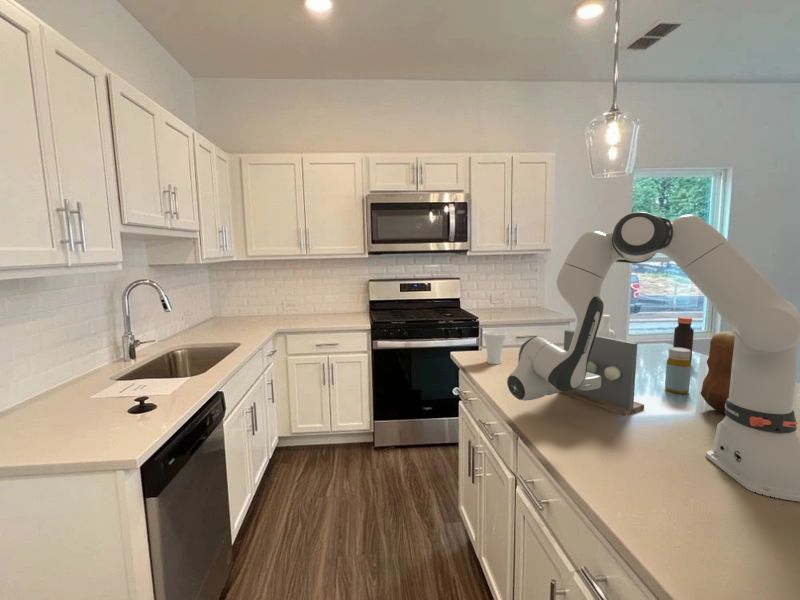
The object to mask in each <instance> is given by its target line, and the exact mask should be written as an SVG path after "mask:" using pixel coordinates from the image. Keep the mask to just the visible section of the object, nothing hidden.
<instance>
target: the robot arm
mask: <svg viewBox="0 0 800 600" xmlns="http://www.w3.org/2000/svg"><path fill="white" fill-rule="evenodd" d="M656 254H660V255H664V256H666V257H668V258H669V259H671V260H672V261H673V262H674V263H675V264H676V266H678V267H679V269H680V270H681V271H682V272H683V273H684V274H685V276H687V278H688V279H689V280H690V281H691V282H692V284H694V285H695V287H696V288H697V289H698V290H699V291H700V292H701V293H702V294H703V295H704V296H705V297H706V299H707V300H708V301H709V303H710V304H711V306H712V307H713V308H714V309H715V310H716V311H717V313H718V314H719V315H720V317H721V318H722V319H723V320H724V322H725V323H726V324H727V325H728V327H729V328H730V329H731V330H732V332H734V333H735V342H734V351H733V360H732V368H731V379H730V389H729V398H727V399H726V403H725V413H724V414H725V416H724V418H723V419H722V420H721V421H720V422H718V424H716V429H715V435H714V439H713V443H712V444H713V447H712V449H711V450H707V451H706V453H705V457H706V458H707V459H708V460H709V461H711V462H712V463H713V464H715V465H716V466H717V467H719V469H721V470H722V471H723V472H725V473H726V474H727V475H728V476H730V477H731V478H732V479H733V480H735V481H736V482H737V483H739V484H740V485H741V486H742V487H744V488H745V489H747V490H748V491H750V492H752V493H755V492H756V494H759V495H762V494H763V495H762V496H766V497H770V496H771V497H770V498H774V497H775V499H779V498H780V499H781V500H787V501H793V502H800V438H799V436H798V434H797V429H798V426H797V425H798V424H799V423H798V422H797V418H796V415H795V411H794V410H793V404H794V397H795V388H796V387H795V386H796V380H797V364H798V363H797V362H798V348H799V347H798V345H799V341H800V312H799V310H798V308H797V307H796V306H795V305H794V304H793V303H792V302H790V301H789V300H787V299H785V298H784V297H783V296H782V295H781V294H780V293H779V292H778V290H777V289H776V288H775V287H773V285H772V284H771V283H770V282H769V281H768V280H767V279H766V278H765V277H764V276H763V275H762V274H761V273H760V271H759V270H758V269H757V268H756V267H755V266H754V265H753V264H752V263H751V262H750V261H749V260H748V259H747V258H746V257H745V256H744V255H743V254H742V253H741V251H739V250H738V249H737V248H736V247H735V246H734V245H733V244H732V243H731V242H730V241H729V240H728V239H727V238H726V237H725V236H724V235H723V234H722V233H720V232H719V230H717V229H716V228H714V227H713V226H712V225H711V224H709V223H708V222H706V221H705V220H704V219H703V218H701V217H699V216H698V215H695V214H683V215H680V216H678V217H675V218H674V219H672V220H669V218H666V217H663V216H662V217H661V216H659V215H655V214H652V213H649V212H645V211H636V212H635V211H634V212H630V213H628V214H626V215H624V216H623V217H621V218H620V219H619V220H618V222H617V223H616V224H615V225H614V229H613V231H612V232H610V233H604V232H601V231H595V230H594V231H593V230H592V231H587V232H585V233H583V234H581V236H580V237H579V238H578V239H577V241H576V242H575V244H574V245H573V246H572V248H571V250H570V251H569V252H568V254H567V256H566V258H565V260H564V262H563V264H562V266H561V268H560V270H559V272H558V275H557V279H556V287H557V291H558V292H559V294H560V296H561V297H562V299H564V301H565V302H566V303H567V304H568V306H570V308H571V309H572V310H573V312H574V313H575V315H576V327H575V329H574V331H575V332H574V335H573V338H572V342H571V345H570V348H569V350H568V352H567V351H565V350H564V348H562V347H560V346H558V345H556V344H555V343H553V342H551V341H550V340H549V339H546V338H544V337H542V336H540V335H539V336H533V337H531V338H529V339H527V340H526V341H525V342H523V344H522V345H521V346H520V348H519V352H518V360H517V362H518V363H517V366H516V367H515V369H514V370H512V371H513V372H511V373H510V374H509V375H508V377H507V378H506V379H507V381H506V384H507V388H508V390H509V392H510V393H511V394H512V396H513V397H514V398H516V399H518V400H519V401H533V400H538V399H541V398H543V397H545V396H552V395H554V394H558V393H559V392H562V391H570V390H574V389H579V390H593V389H598V388H600V387H601V376H600V375H597V374H593V373H589V372H587V365H588V360H589V356H590V353H591V350H592V347H593V344H594V341H595V337H596V335H597V332H598V330H599V328H600V325H601V324H600V323H601V320H602V319H603V315H604V314H603V312H604V308H605V307H604V306H605V305H604V302H603V300H602V299H601V291H602V290H601V289H602V285H603V282H604V280H605V278H606V276H607V275H608V273H609V271H610V269H611V267H612V266H613V264H614V263H628V264H640V263H645V262H648V261H649V260H651V259H652V258H653V257H654V256H656ZM559 394H560V393H559Z"/></svg>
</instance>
